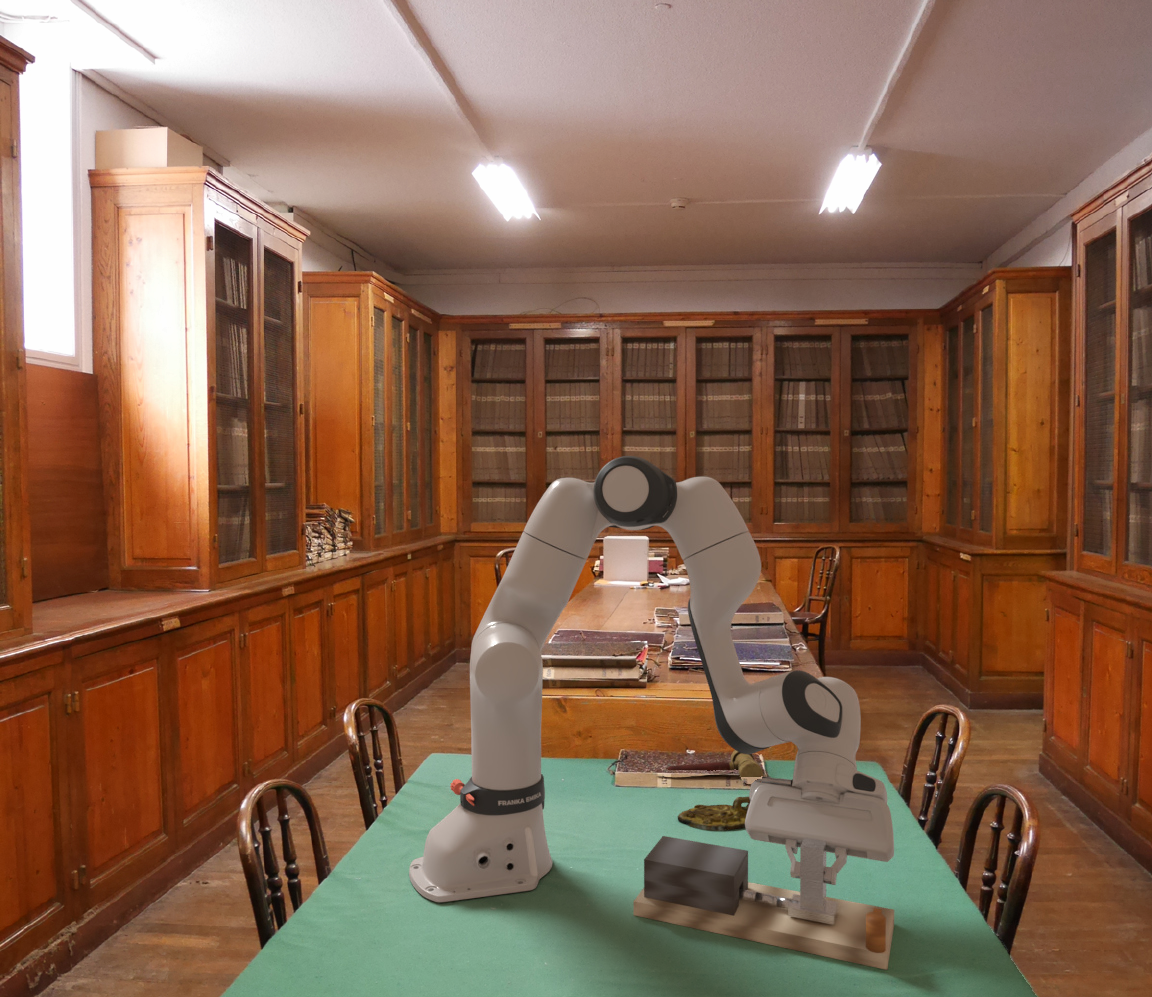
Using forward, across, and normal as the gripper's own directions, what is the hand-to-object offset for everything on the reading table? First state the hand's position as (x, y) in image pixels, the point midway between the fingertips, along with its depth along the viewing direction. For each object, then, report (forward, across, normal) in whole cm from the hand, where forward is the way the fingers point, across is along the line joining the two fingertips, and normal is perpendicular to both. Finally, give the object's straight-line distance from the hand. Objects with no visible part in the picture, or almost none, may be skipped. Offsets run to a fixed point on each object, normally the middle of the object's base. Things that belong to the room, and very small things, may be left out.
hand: (812, 879), depth 119 cm
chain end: (+3, -8, +4) cm, 10 cm away
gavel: (-31, -29, +43) cm, 60 cm away
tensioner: (+5, -7, +5) cm, 10 cm away
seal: (-17, -21, +28) cm, 39 cm away
